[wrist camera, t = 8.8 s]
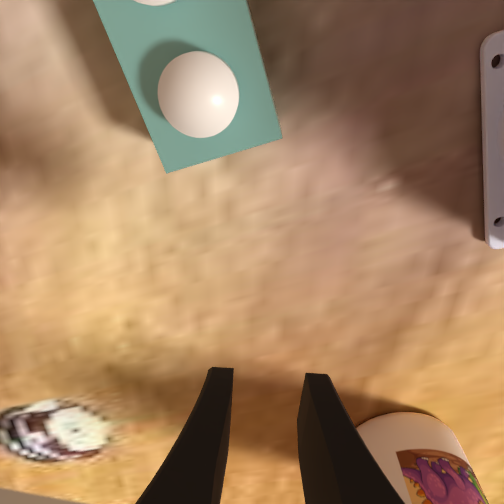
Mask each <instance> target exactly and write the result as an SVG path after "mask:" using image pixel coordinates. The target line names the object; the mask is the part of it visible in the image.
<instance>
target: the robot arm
mask: <svg viewBox="0 0 504 504" xmlns="http://www.w3.org/2000/svg"><path fill="white" fill-rule="evenodd" d="M498 54H499V55H500V58H501V59H500V63H499V64H498V65H497V66H496V67H494V68H493V67H492V65H491V62H492V59H493V58H494V57H495V56H496V55H498ZM480 69H481V106H482V144H483V181H484V218H485V241H486V243H487V244H488V245H489V246H490V247H491V248H493V249H501V248H504V30H501V31H498V32H494V33H492V34H490V35H488V36H487V37H486V38H485V39H484V41H483V43H482V45H481V48H480ZM499 217H501V220H500V221H499V222H498V223H495V224H494V221H495V220H496V219H497V218H499ZM233 372H234V368H220V367H212V368H210V369H209V370H208V373H207V377H206V380H205V383H204V385H203V388H202V390H201V393H200V395H199V397H198V400H197V402H196V404H195V406H194V408H193V410H192V412H191V414H190V416H189V418H188V420H187V422H186V424H185V426H184V428H183V430H182V431H181V433H180V435H179V437H178V439H177V440H176V442H175V444H174V445H173V447H172V449H171V450H170V452H169V454H168V455H167V457H166V459H165V460H164V462H163V464H162V465H161V467H160V468H159V470H158V471H157V473H156V475H155V476H154V478H153V479H152V481H151V482H150V484H149V485H148V486H147V488H146V489H145V491H144V492H143V494H142V495H141V497H140V498H139V499H138V501H137V502H136V503H135V504H220V499H221V493H222V487H223V481H224V475H225V469H226V463H227V456H228V448H229V434H230V421H231V405H232V388H233ZM297 432H298V453H299V463H300V470H301V477H302V483H303V490H304V497H305V504H405V503H404V501H403V500H402V499H401V497H400V496H399V494H398V493H397V492H396V490H395V489H394V487H393V486H392V485H391V483H390V482H389V480H388V479H387V477H386V476H385V474H384V473H383V471H382V470H381V468H380V467H379V465H378V464H377V462H376V461H375V459H374V457H373V456H372V454H371V453H370V451H369V449H368V448H367V446H366V444H365V443H364V441H363V439H362V438H361V436H360V434H359V433H358V431H357V429H356V428H355V426H354V424H353V422H352V420H351V419H350V417H349V415H348V413H347V411H346V409H345V407H344V406H343V404H342V402H341V400H340V398H339V396H338V394H337V392H336V390H335V387H334V385H333V383H332V381H331V379H330V377H329V376H328V375H327V374H315V373H306V374H305V380H304V385H303V391H302V396H301V401H300V407H299V412H298V418H297Z"/></svg>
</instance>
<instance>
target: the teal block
mask: <svg viewBox="0 0 504 504" xmlns="http://www.w3.org/2000/svg"><path fill="white" fill-rule="evenodd" d="M93 2H94V4H95V6H96V9H97V11H98V13H99V16H100V18H101V21H102V23H103V25H104V28H105V30H106V32H107V35H108V37H109V39H110V42H111V44H112V46H113V49H114V51H115V54H116V56H117V58H118V61H119V63H120V65H121V68H122V70H123V72H124V75H125V77H126V79H127V82H128V84H129V87H130V89H131V91H132V94H133V96H134V98H135V101H136V103H137V105H138V108H139V110H140V112H141V115H142V117H143V120H144V122H145V124H146V127H147V129H148V131H149V134H150V136H151V138H152V141H153V143H154V145H155V148H156V150H157V153H158V155H159V157H160V160H161V162H162V164H163V167H164V169H165V171H166V173H170V172H173V171H176V170H179V169H183V168H186V167H189V166H193V165H196V164H199V163H203V162H206V161H209V160H213V159H216V158H219V157H223V156H226V155H229V154H232V153H236V152H239V151H242V150H246V149H249V148H252V147H256V146H259V145H262V144H266V143H269V142H272V141H275V140H279V139H282V133H281V128H280V123H279V118H278V114H277V111H276V107H275V103H274V99H273V96H272V92H271V88H270V84H269V81H268V77H267V73H266V69H265V65H264V62H263V58H262V54H261V50H260V47H259V43H258V39H257V35H256V31H255V28H254V24H253V20H252V16H251V13H250V9H249V5H248V1H247V0H93Z"/></svg>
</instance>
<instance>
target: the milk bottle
mask: <svg viewBox="0 0 504 504" xmlns="http://www.w3.org/2000/svg"><path fill="white" fill-rule="evenodd" d="M356 429H357V431H358V433H359V434H360V436H361V438H362V439H363V441H364V443H365V444H366V446H367V448H368V449H369V451H370V453H371V454H372V456H373V457H374V459H375V461H376V462H377V464H378V465H379V467H380V468H381V470H382V471H383V473H384V474H385V476H386V477H387V479H388V480H389V482H390V483H391V485H392V486H393V487H394V489H395V490H396V492H397V493H398V494H399V496H400V497H401V499H402V500H403V501H404V503H405V504H489V503H488V501H487V499H486V497H485V495H484V493H483V491H482V489H481V486H480V484H479V482H478V480H477V478H476V476H475V474H474V472H473V470H472V468H471V466H470V464H469V462H468V459H467V457H466V455H465V453H464V451H463V449H462V447H461V445H460V443H459V442H458V440H457V438H456V436H455V434H454V433H453V431H452V430H451V429H450V428H449V427H447V426H446V425H445V424H444V423H443V422H441V421H440V420H438V419H436V418H434V417H432V416H429V415H426V414H423V413H415V412H396V413H388V414H385V415H381V416H377V417H375V418H373V419H370V420H368V421H366V422H364V423H363V424H361V425H359V426H358V427H357V428H356Z"/></svg>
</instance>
